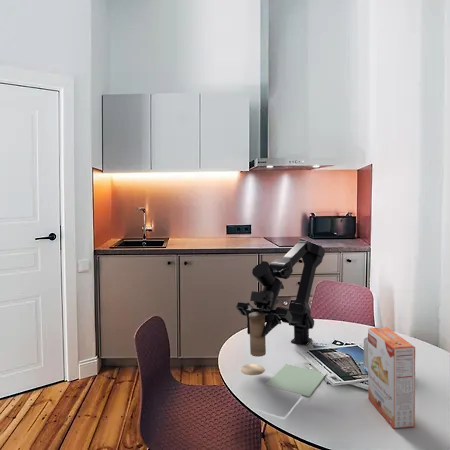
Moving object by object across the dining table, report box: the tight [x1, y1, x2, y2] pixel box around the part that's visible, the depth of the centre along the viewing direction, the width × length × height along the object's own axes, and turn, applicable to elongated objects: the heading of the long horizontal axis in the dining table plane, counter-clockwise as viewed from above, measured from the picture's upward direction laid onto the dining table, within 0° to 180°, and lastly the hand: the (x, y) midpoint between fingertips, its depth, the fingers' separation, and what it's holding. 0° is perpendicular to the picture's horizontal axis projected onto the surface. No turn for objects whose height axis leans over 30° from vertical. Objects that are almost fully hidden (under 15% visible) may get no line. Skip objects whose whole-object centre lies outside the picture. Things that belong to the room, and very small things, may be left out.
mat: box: [264, 363, 325, 398], centre depth 122 cm, size 16×14×1 cm
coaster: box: [240, 363, 266, 376], centre depth 129 cm, size 8×8×1 cm
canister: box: [249, 312, 267, 357], centre depth 127 cm, size 5×5×13 cm
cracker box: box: [367, 326, 416, 430], centre depth 102 cm, size 14×6×21 cm, turn 5°
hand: (255, 335), depth 126 cm, fingers closed on canister, 5 cm apart
